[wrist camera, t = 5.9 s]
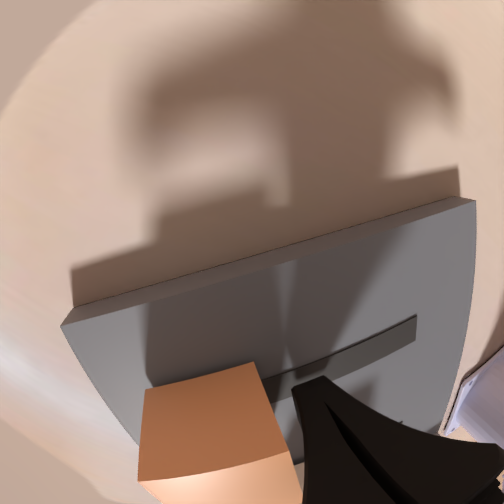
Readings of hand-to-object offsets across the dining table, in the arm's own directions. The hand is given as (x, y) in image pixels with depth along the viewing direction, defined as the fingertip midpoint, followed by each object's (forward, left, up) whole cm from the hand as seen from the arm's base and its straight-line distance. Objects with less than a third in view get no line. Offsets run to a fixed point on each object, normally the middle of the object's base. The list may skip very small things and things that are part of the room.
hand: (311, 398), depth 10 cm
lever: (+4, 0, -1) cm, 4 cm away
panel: (-1, +8, -3) cm, 9 cm away
